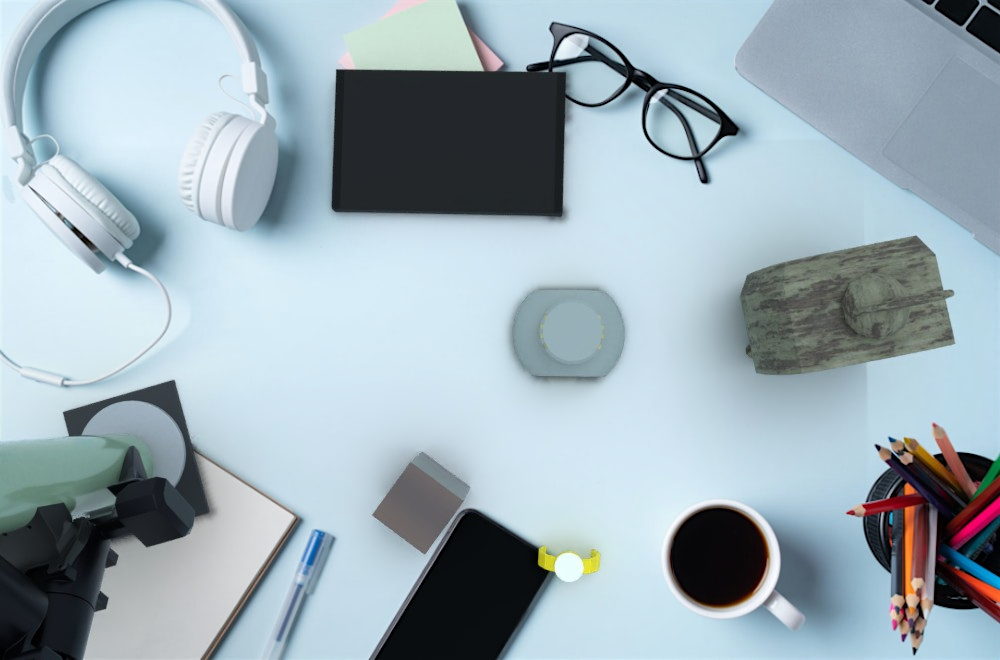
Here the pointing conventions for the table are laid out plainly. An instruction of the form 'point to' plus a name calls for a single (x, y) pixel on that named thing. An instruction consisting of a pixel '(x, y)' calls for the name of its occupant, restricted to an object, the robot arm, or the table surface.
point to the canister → (62, 474)
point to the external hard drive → (449, 142)
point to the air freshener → (568, 333)
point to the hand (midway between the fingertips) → (97, 458)
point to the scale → (148, 435)
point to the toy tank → (846, 308)
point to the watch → (569, 564)
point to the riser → (422, 502)
